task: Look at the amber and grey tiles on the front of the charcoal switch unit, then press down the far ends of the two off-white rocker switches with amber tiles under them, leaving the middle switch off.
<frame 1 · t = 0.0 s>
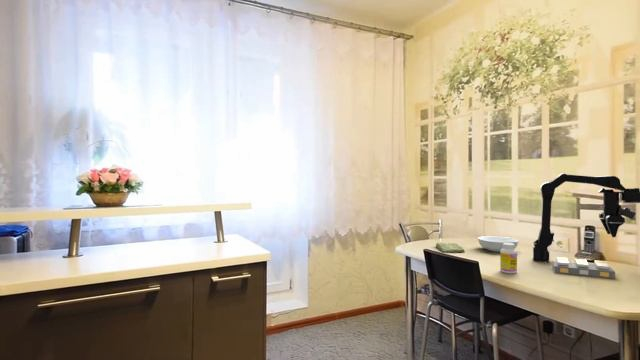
hand: (611, 235, 164), 15 cm above the table, tool pointing down, fingers open, 9 cm apart
washcloth: (449, 250, 207), on the table
switch unit: (581, 272, 155), on the table
rocker 1: (562, 261, 158), point 4 cm above the table, hinge at 10.0°
supplement bottle: (508, 272, 158), on the table
rocker 3: (601, 264, 151), point 4 cm above the table, hinge at 10.0°
rocker 2: (581, 262, 155), point 4 cm above the table, hinge at 10.0°
serving bowl: (497, 250, 202), on the table
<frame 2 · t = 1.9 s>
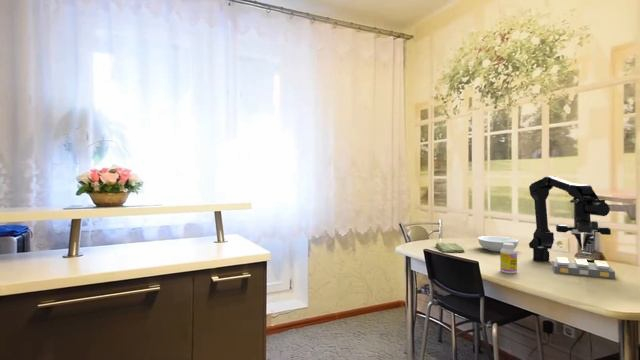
hand: (582, 249, 153), 11 cm above the table, tool pointing down, fingers closed
nothing on the table moved.
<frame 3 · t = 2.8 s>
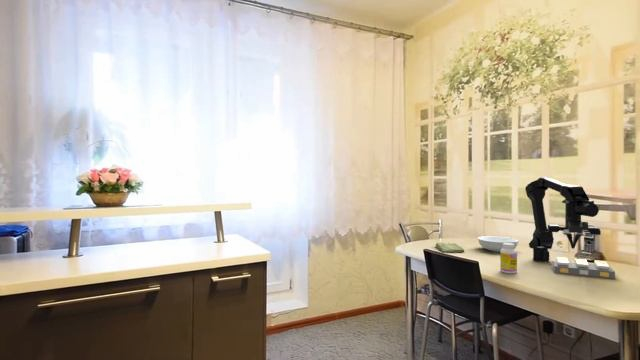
hand: (572, 248, 156), 11 cm above the table, tool pointing down, fingers closed
nothing on the table moved.
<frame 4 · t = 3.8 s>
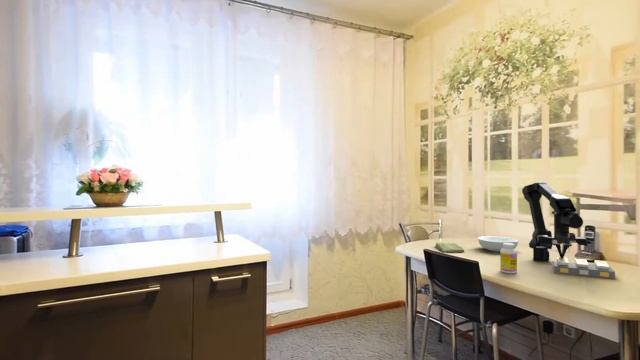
hand: (561, 258, 161), 5 cm above the table, tool pointing down, fingers closed, pressing on rocker 1
rocker 1: (562, 261, 158), point 4 cm above the table, hinge at 8.3°, touching gripper
everything else where it was.
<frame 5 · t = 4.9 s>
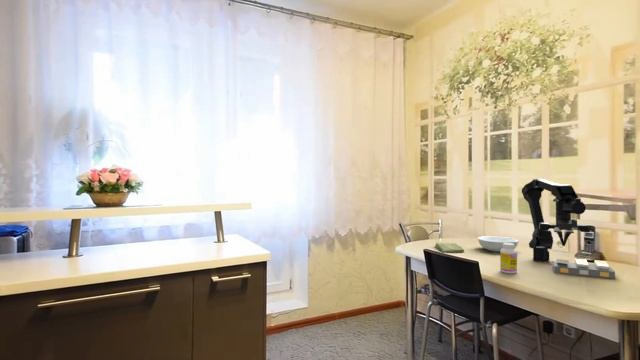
hand: (563, 246, 160), 11 cm above the table, tool pointing down, fingers closed
rocker 1: (562, 261, 158), point 4 cm above the table, hinge at -12.3°
everything else where it was.
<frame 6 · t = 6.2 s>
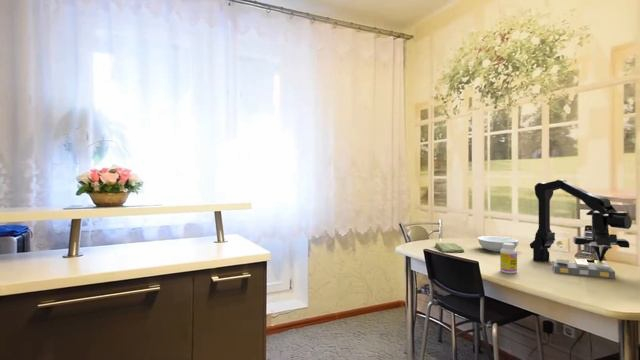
hand: (600, 261, 154), 5 cm above the table, tool pointing down, fingers closed, pressing on rocker 3
rocker 1: (562, 261, 158), point 4 cm above the table, hinge at -13.0°
rocker 3: (601, 264, 151), point 4 cm above the table, hinge at 9.8°, touching gripper
everything else where it was.
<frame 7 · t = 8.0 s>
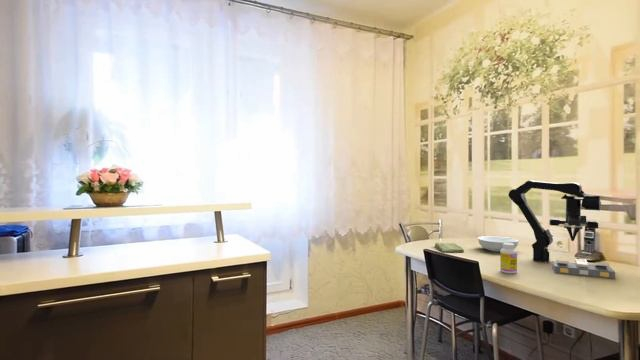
hand: (572, 240, 168), 12 cm above the table, tool pointing down, fingers closed
rocker 1: (562, 261, 158), point 4 cm above the table, hinge at -6.8°
rocker 3: (601, 264, 151), point 4 cm above the table, hinge at -17.4°, touching switch unit
everything else where it was.
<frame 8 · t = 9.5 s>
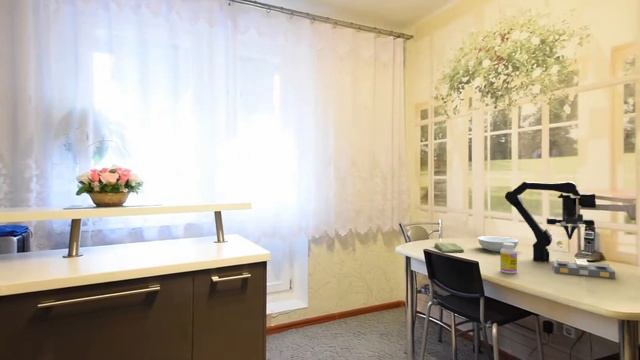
hand: (569, 239, 170), 12 cm above the table, tool pointing down, fingers closed
rocker 1: (562, 261, 158), point 4 cm above the table, hinge at -4.2°
rocker 3: (601, 264, 151), point 4 cm above the table, hinge at -11.0°
everything else where it was.
at the end: rocker 1 at -4° (first picture: +10°); rocker 2 at +10° (first picture: +10°); rocker 3 at -11° (first picture: +10°) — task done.
